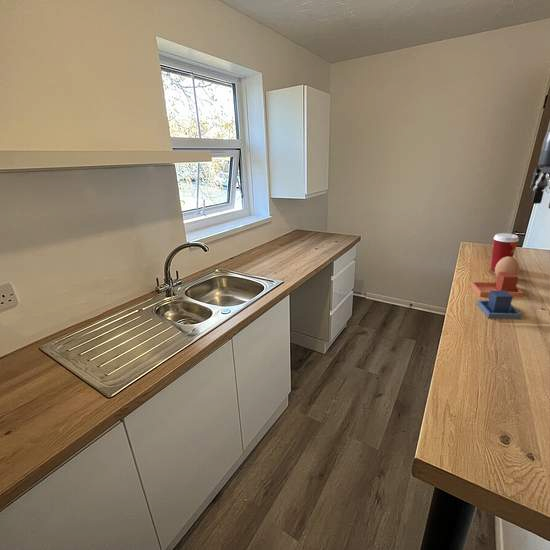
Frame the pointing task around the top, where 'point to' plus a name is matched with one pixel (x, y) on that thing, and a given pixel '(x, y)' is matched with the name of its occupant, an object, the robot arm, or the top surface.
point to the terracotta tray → (486, 287)
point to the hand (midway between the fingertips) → (544, 205)
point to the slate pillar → (499, 302)
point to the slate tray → (511, 315)
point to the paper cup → (503, 247)
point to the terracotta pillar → (506, 281)
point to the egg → (507, 266)
